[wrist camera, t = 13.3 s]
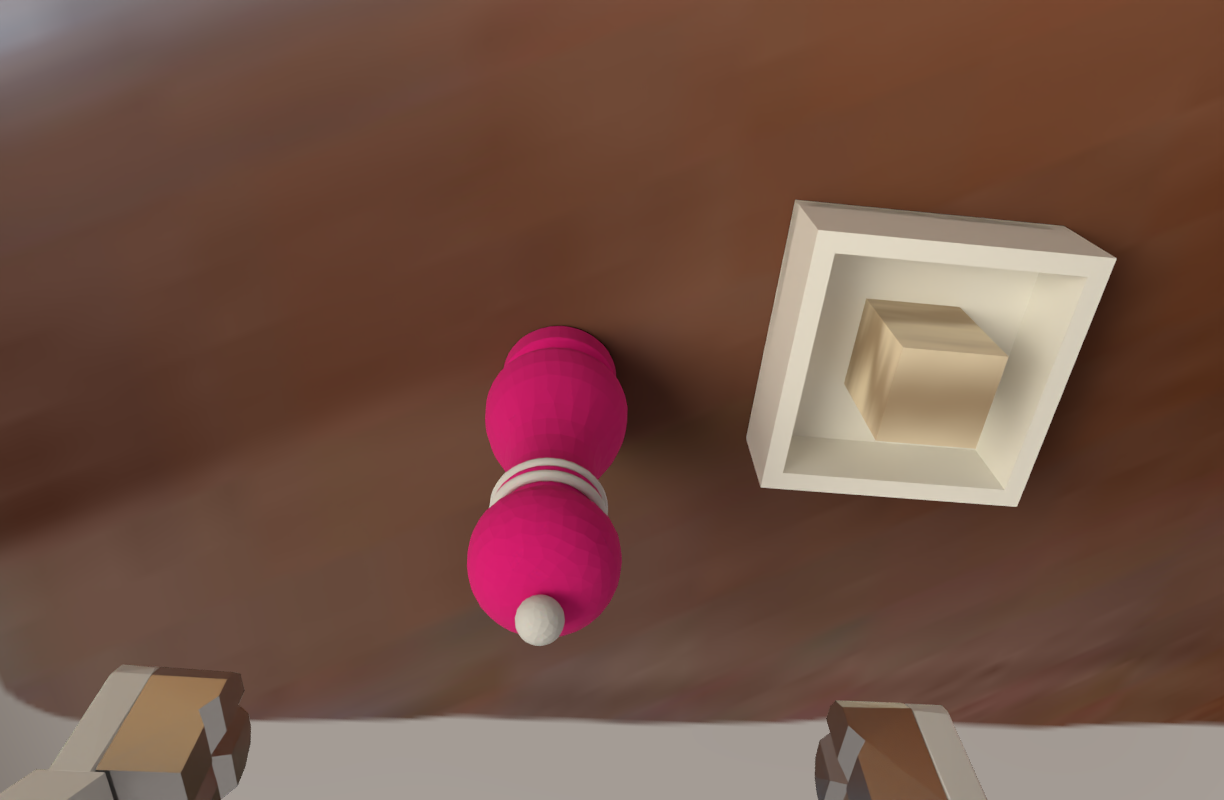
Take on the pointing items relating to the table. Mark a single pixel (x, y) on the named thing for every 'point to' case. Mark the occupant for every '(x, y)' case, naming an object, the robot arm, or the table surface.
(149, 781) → the robot arm
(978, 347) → the birch block
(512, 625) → the pepper mill
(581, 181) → the table surface
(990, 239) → the serving bin
